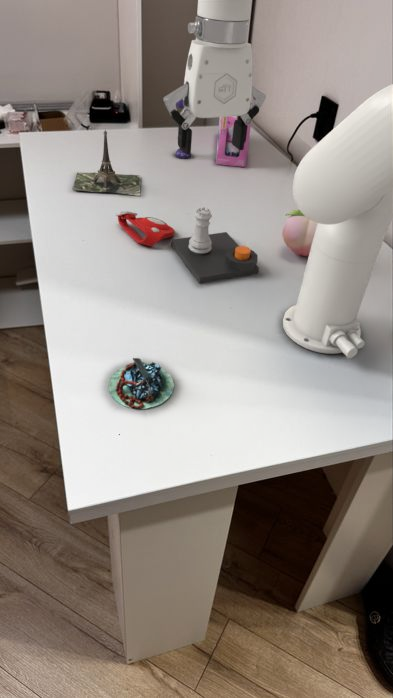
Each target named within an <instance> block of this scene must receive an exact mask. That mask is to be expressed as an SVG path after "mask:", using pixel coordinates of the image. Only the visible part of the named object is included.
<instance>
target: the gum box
mask: <svg viewBox="0 0 393 698" xmlns="http://www.w3.org/2000/svg"><path fill="white" fill-rule="evenodd" d="M250 104H252V101H251V103H250ZM235 120H237V117H236V116H231V117H218V129H217V141H216V142H217V143H216V157H215V158H216V160H215V164H216V165H222V166H231V167H240V168H245V167H246V164H247V157H248V148H249V140H250V134H251V126H252V123H251V124H250V125H248V127H247V135H246V142H245V143H244V149H243V150H239V149H237V148H236V147H235V146H234V145H232V136H233V127H234V122H235Z"/></svg>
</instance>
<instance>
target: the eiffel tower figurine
mask: <svg viewBox="0 0 393 698" xmlns="http://www.w3.org/2000/svg"><path fill="white" fill-rule="evenodd" d="M111 162H112V161H111V160H110V153H109V145H108V131H107V130H106V129H104V131H103V152H102V161H101V165H100V168H99V170H97V172H76V176H75V178H74V182H73V186H72V190H76V191H82V192H89V193H90V192H92V193H94V192H95V193H114V194H122V195H130V196H138V197H141V182H140V179H141V178H140V177H141V176H140V175H138V174H122V173H121V174H119V173H116V171H115V170H114V168H113V166H112V163H111Z"/></svg>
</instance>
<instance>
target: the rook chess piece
mask: <svg viewBox="0 0 393 698" xmlns="http://www.w3.org/2000/svg"><path fill="white" fill-rule="evenodd" d="M193 216H194V217H195V220H194V224H195V227H194V232H193V234H192V235H191V237H192V238H191V239H190V240H189V243H190V244H189V249H190V250H191V251H192V252H193V253H196V254H206V253H208V252H209V251H210V250H211V249H212V247H211V245H212V242H211V240H210V237H209V234H210V232H209V227H210V225H211V222H210V220H211V219H212V217H213V214H212V213H211V209H210V208H207V207H205V206H202V207H198V208H197V209H196V211H195V213H193Z"/></svg>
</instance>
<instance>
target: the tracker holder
mask: <svg viewBox="0 0 393 698" xmlns="http://www.w3.org/2000/svg"><path fill="white" fill-rule="evenodd" d="M137 216H138V213H137V212H132V211H129V210H128V211H127V210H126V211H125V210H123V211H121V212H119V213H116V214H115V217H117V221H118V224H119V225H120V227H121V228H122V229H123V230H124V231H125V232H126V233H127V234H128V235H129V236H130V237H131V238H132V239H133V240H134V241H135V242H136V243H137V244H141V245H143V246H147V247H153V246H155V245H156V244H157V243H158V242H160V241H162V240H164V239H168V238H172V237H174V236H175V229H174V228H173V227H171V226H170V225H168V224H167V223H166V222H165V221H164V220H162V219H159V218H157V217H151V216H147V217H146V216H145V217H137ZM128 222H130V223H131V224H132V225H133V226H135V227H136V228H138V229H139V230H141V231H142V233H144V235H145V237H142V236H141V234H139V233H138V232H136V230H134V229H133V228H132V227H131V226H130V225H129V223H128Z"/></svg>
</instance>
